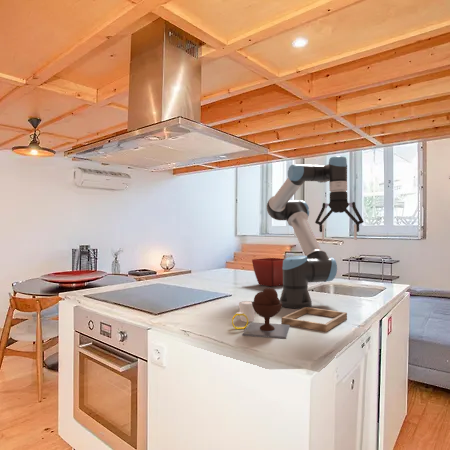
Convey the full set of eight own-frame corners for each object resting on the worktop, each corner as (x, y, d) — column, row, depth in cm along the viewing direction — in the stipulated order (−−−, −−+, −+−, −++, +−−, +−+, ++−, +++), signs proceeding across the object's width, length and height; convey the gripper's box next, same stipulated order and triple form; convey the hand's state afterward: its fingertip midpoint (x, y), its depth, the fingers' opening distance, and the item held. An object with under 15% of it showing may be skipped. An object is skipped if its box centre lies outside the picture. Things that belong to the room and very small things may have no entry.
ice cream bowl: (278, 324, 130) (278, 284, 131) (284, 333, 119) (284, 289, 120) (251, 324, 130) (250, 285, 130) (254, 333, 119) (253, 290, 119)
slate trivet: (242, 335, 119) (242, 333, 119) (250, 323, 134) (250, 322, 134) (286, 338, 115) (286, 336, 115) (289, 326, 130) (289, 324, 130)
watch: (247, 328, 129) (248, 312, 129) (248, 330, 126) (248, 313, 126) (231, 327, 129) (232, 311, 129) (231, 329, 126) (232, 313, 126)
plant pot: (271, 281, 238) (271, 257, 239) (293, 285, 224) (292, 259, 224) (251, 284, 226) (251, 259, 226) (273, 288, 212) (272, 261, 212)
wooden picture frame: (281, 323, 133) (281, 317, 133) (305, 312, 151) (305, 306, 151) (326, 331, 122) (326, 325, 122) (346, 318, 140) (346, 312, 140)
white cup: (245, 316, 145) (245, 300, 145) (259, 319, 140) (259, 302, 140) (235, 320, 139) (235, 302, 139) (249, 323, 135) (249, 305, 135)
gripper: (309, 192, 152) (309, 239, 152) (369, 189, 146) (370, 239, 145) (309, 193, 159) (310, 239, 159) (367, 191, 153) (368, 239, 153)
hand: (339, 239), depth 152 cm, fingers open, 13 cm apart
